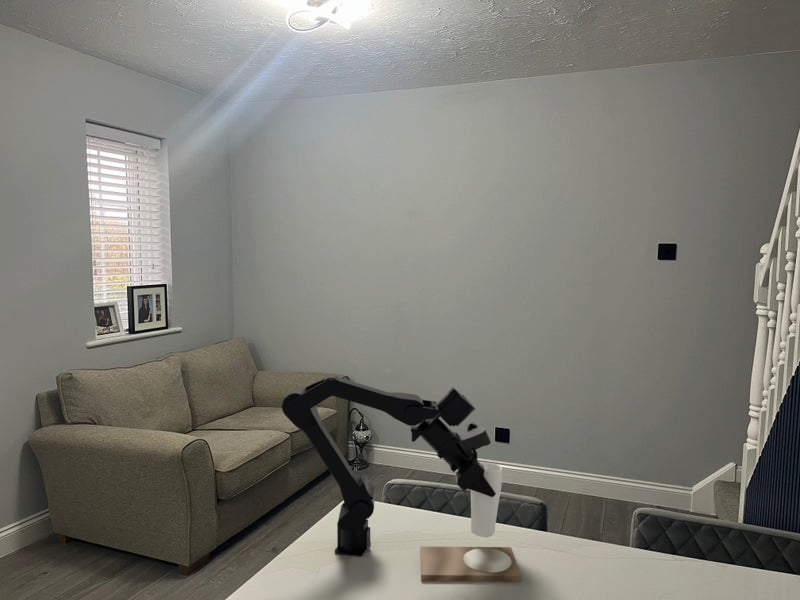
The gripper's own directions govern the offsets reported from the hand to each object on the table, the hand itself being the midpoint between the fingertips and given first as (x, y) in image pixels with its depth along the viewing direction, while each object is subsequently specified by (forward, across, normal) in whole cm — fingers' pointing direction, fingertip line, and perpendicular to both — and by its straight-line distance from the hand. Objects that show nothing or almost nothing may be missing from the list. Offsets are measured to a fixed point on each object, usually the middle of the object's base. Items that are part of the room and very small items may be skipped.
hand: (491, 489), depth 133 cm
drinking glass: (+6, 0, +8) cm, 10 cm away
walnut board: (+5, -8, +14) cm, 17 cm away
